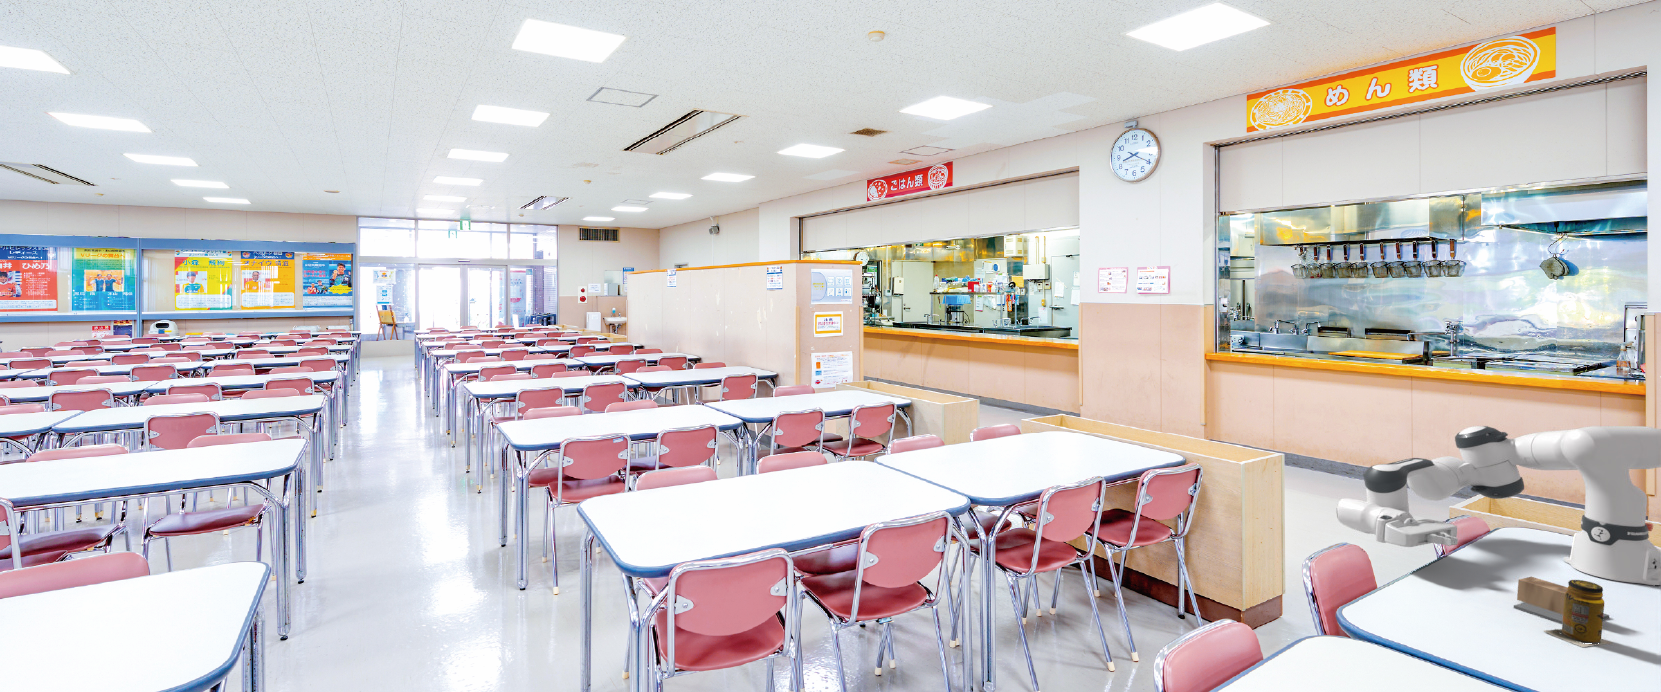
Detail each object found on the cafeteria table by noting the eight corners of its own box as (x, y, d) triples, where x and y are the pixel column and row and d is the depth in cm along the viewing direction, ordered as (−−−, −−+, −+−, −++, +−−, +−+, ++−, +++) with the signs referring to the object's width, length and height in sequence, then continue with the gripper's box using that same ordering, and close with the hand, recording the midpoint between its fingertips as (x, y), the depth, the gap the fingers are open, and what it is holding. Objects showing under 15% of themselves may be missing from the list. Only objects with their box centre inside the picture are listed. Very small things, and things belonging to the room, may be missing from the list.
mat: (1549, 598, 182) (1549, 596, 182) (1609, 617, 172) (1609, 615, 171) (1513, 607, 177) (1513, 605, 177) (1573, 627, 167) (1573, 625, 167)
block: (1531, 576, 181) (1601, 597, 169) (1529, 596, 182) (1600, 618, 170) (1518, 579, 180) (1589, 600, 167) (1517, 599, 180) (1587, 622, 168)
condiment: (1612, 643, 159) (1617, 588, 158) (1582, 647, 158) (1587, 592, 157) (1571, 628, 167) (1576, 575, 166) (1542, 632, 165) (1546, 579, 164)
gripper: (1421, 532, 211) (1478, 548, 198) (1372, 541, 204) (1428, 559, 191) (1423, 510, 211) (1480, 525, 198) (1373, 519, 203) (1429, 535, 190)
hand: (1454, 542), depth 194 cm, fingers closed
